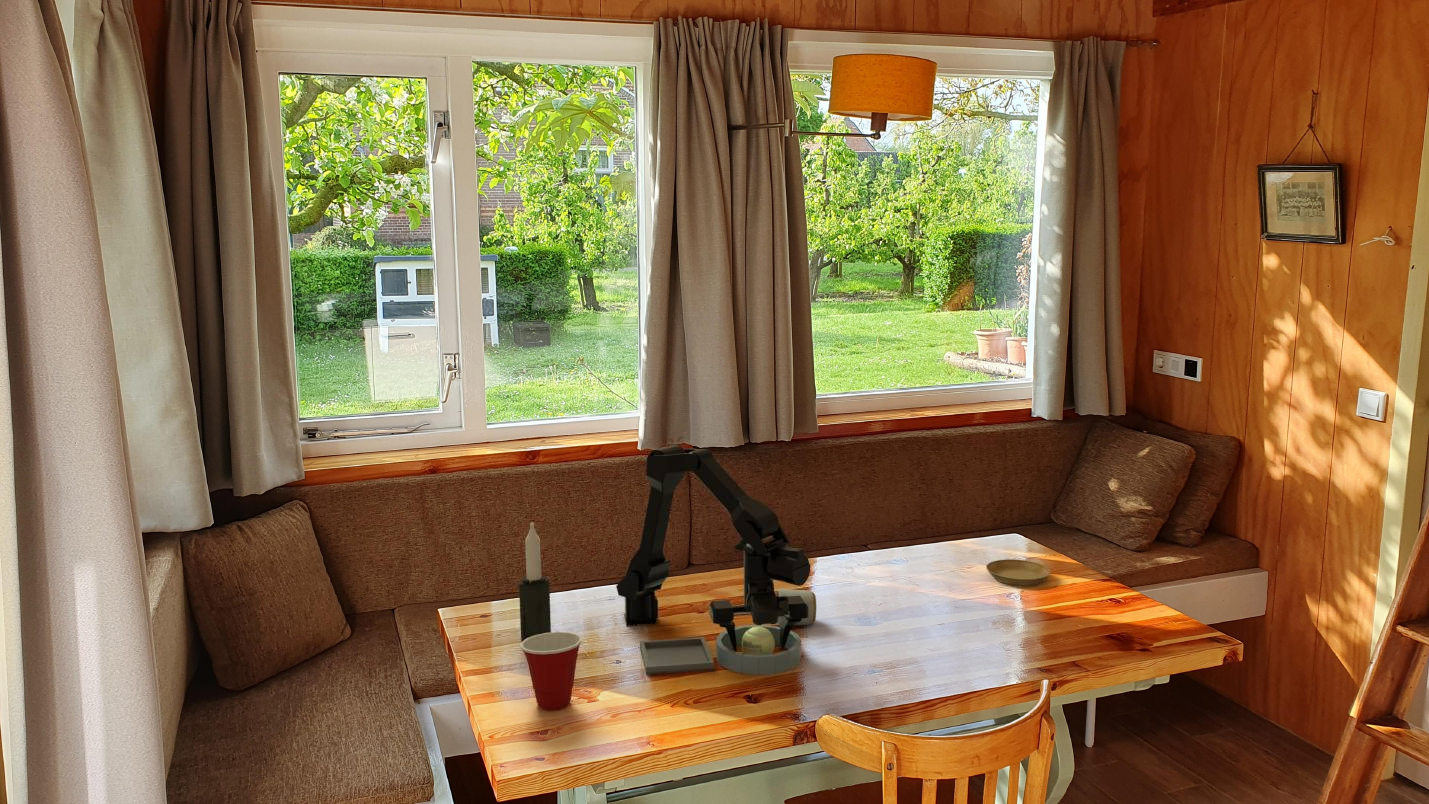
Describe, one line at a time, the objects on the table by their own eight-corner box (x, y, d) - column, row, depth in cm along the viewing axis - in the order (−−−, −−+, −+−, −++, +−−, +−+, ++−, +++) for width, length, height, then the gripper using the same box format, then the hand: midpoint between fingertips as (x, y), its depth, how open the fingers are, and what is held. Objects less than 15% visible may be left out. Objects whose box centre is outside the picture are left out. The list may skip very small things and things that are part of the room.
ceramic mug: (817, 629, 229) (817, 594, 228) (778, 631, 228) (778, 595, 227) (810, 612, 239) (810, 578, 238) (772, 613, 239) (772, 579, 237)
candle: (553, 638, 225) (549, 520, 221) (541, 647, 220) (537, 526, 216) (531, 635, 227) (526, 518, 223) (519, 644, 222) (514, 524, 218)
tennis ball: (736, 626, 213) (766, 632, 209) (753, 620, 219) (782, 626, 215) (734, 659, 213) (764, 665, 210) (751, 652, 219) (780, 659, 215)
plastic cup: (562, 685, 202) (560, 623, 200) (595, 704, 194) (594, 640, 192) (510, 702, 195) (508, 638, 193) (543, 723, 187) (541, 656, 185)
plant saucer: (1060, 578, 261) (1061, 567, 261) (1033, 594, 250) (1033, 583, 250) (1003, 565, 271) (1003, 555, 270) (974, 580, 260) (974, 569, 259)
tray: (646, 674, 207) (646, 667, 206) (639, 648, 219) (639, 641, 219) (714, 669, 209) (714, 662, 208) (704, 644, 221) (704, 637, 221)
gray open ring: (724, 677, 205) (724, 659, 205) (710, 644, 221) (710, 627, 221) (809, 671, 208) (809, 653, 207) (790, 638, 224) (790, 622, 223)
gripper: (717, 591, 202) (718, 671, 205) (815, 585, 205) (815, 664, 208) (708, 572, 213) (708, 648, 216) (801, 567, 216) (801, 642, 219)
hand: (758, 651), depth 214 cm, fingers open, 9 cm apart
